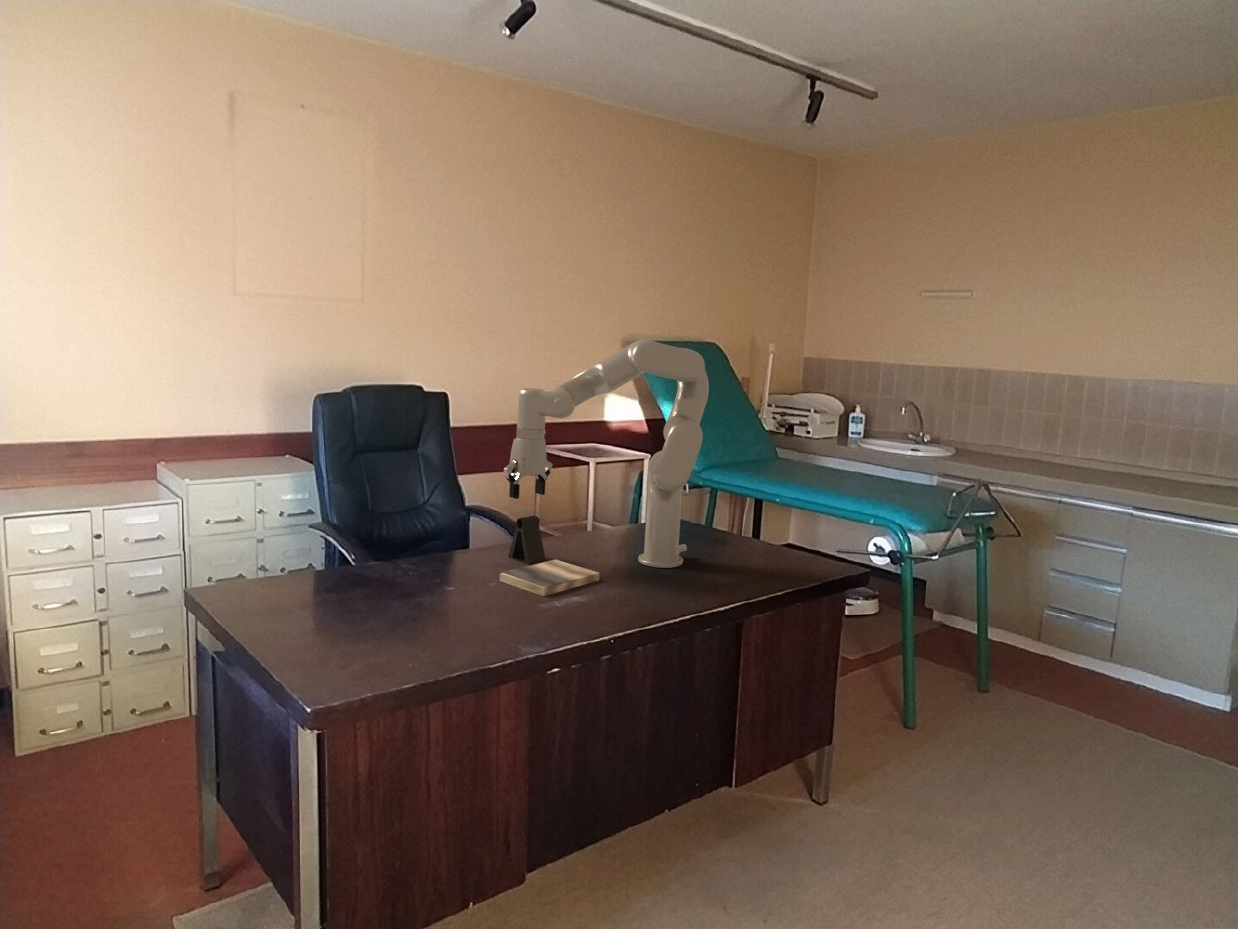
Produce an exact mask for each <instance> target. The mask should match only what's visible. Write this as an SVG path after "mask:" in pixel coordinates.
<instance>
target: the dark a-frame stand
mask: <svg viewBox="0 0 1238 929" xmlns="http://www.w3.org/2000/svg"><path fill="white" fill-rule="evenodd" d="M540 520H541V519H540V518H539V516H538V515H530V516H525V517H519V518H517V519H516V521H515V524H516V529H515V531H514V535H513V538H512V541H511V545H510V548H509V552H508V555H507V557H508V558H509V559H510V560H515V561H517V562H520V563H523V564H526V565H528V566H530V565H535V564H539V563H543V562H547V561H546V555H545V550H544V544H543V539H542V535H541V530H540V522H541V521H540Z"/></svg>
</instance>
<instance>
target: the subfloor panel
mask: <svg viewBox="0 0 1238 929" xmlns="http://www.w3.org/2000/svg"><path fill="white" fill-rule="evenodd" d="M499 581H500V582H502V583H505V584H508V585H510V586H513V587H515V588H519V589H522V590H524V591H528V592H531V593H533V594H537V595H539V596H542V597H546V596H549V595H553V594H556V593H560V592H563V591H568V590H570V589H574V588H576V587H580V586H583V585H587V584H591V583H594V582H598V581H600V572H597V571H594V570H591V569H588V568H585V567H581V566H578V565H575V564H572V563H568V562H565V561H562V560H559V559H552V560H548V561H543V562H538V563H534V564H530V565H528V566H527V565H525V566H521V567H517V568H513V569H509V570H505V571H502V572H501V573H499Z"/></svg>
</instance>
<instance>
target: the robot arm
mask: <svg viewBox="0 0 1238 929" xmlns="http://www.w3.org/2000/svg"><path fill="white" fill-rule="evenodd" d="M705 368H706V364H705V359H704V358H703V356H702V355H701V354H700V353H699V352H698V351H695V350H692V349H690V348H686V347H684V348H683V347H679V346H678V347H677V346H673V345H669V344H666V343H665V344H664V343H661V342H658V341H655V340H651V339H647V338H641V339H637V340H635V341H633V342H632V343H630V344H628V345H626V346H625V347H622V348H621V349H620V350H618V351H616V352H615V353H613V354H612V355H610V356H608V357H606V358H604V359H602V360H600V361H599V362H598V363H596V364H594V365H592V366H591V367H589V368H587V369H586V370H584V371H582V372H581V373H579V374H577V375H575V376H573V377H571V378H570V379H568V380H566V381H564V382H563V383H561V384H560V385H558V386H556V387H554V388H553V389H552V390H550V391H549V390H548V391H546V390H545V389H542V388H537V387H523V388H521V389H520V390H519V392H518V401H517V417H516V418H517V421H516V437H515V438H513V442H512V446H511V451H510V458H509V463H508V464H507V466H505V467H504V468H503V472H504V476H505V479H506V480H507V483H509V498H512V499H515V500H517V499H519V498H520V487H521V486H520V484H519V482H520V481H521V480H522V478H525V477H526V478H527V477H532V476H533V477H534V476H536V477H537V478H535V490H534V492H535V494H537V495H542V496H545V495H546V494H545V493H546V481H548V477H549V475H550V474H551V470H552V469H553V466H554V465H553V463H552V462H550V461H549V460H547V444H546V439H545V434H546V433H547V432H546V431H547V430H546V429H545V428H546V417H549V418H550V417H551V418H555V419H566V418H568V417H570V416H571V415H572V414H573V412H574V411H575V408H576V407H579V406H580V405H581V404H583V403H584V402H586V401H588V400H591V399H593V398H594V397H597V396H599V395H605V394H608V393H611V392H613V391H616V390H617V389H618V388H621V387H622V386H623V385H626V384H627V383H629V382H631V381H633V380H634V379H635V378H638V377H639V376H641V375H643V374H645V373H646V374H648V375H649V374H650V375H654V376H657V377H661V378H666V379H669V380H670V379H671V380H675V381H676V383H677V391H676V396H675V398H674V402H673V405H672V406H671V407H672V408H671V410H670V412H669V415H668V417H667V420H666V422H665V425H664V427H663V430H662V431H663V438H664V440H665V441H664V444H663V446H662V450H660V451H659V450H658V451H657V452H656V453H654V454H653V455H652V457H651V458H650V460H649V461H648V465H647V497H646V498H647V499H646V500H647V501H646V513H645V514H646V516H645V532H644V534H645V535H644V550H643V553H641V554H639V555H638V559H637V560H638V562H639V563H640V564H642V565H645V566H648V567H652V568H659V569H660V568H661V569H664V568H665V569H669V568H671V569H672V568H677V567H679V566H682V565H683V563H684V558H683V557H682V556H680V554H681V553H682V552H685V551H687V550H688V547H687V545H686V544H684V543H683V544H680V543H679V541H680V531H681V530H680V529H681V528H680V527H681V516H682V514H681V513H682V498H683V496H682V492H683V491H682V490H683V487H685V485H686V484H687V483H688V480H689V479H690V476H691V474H692V471H693V469H694V467H695V463H696V462H697V458H698V456H699V452H700V450H701V447H702V444H703V439H704V438H703V436H704V435H703V434H704V433H703V430H702V427H701V426H700V424H701V421H702V418H703V414H704V411H705V407H706V405H707V402H708V398H709V391H710V387H709V386H710V384H709V377H708V375H707V371H706V369H705Z"/></svg>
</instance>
